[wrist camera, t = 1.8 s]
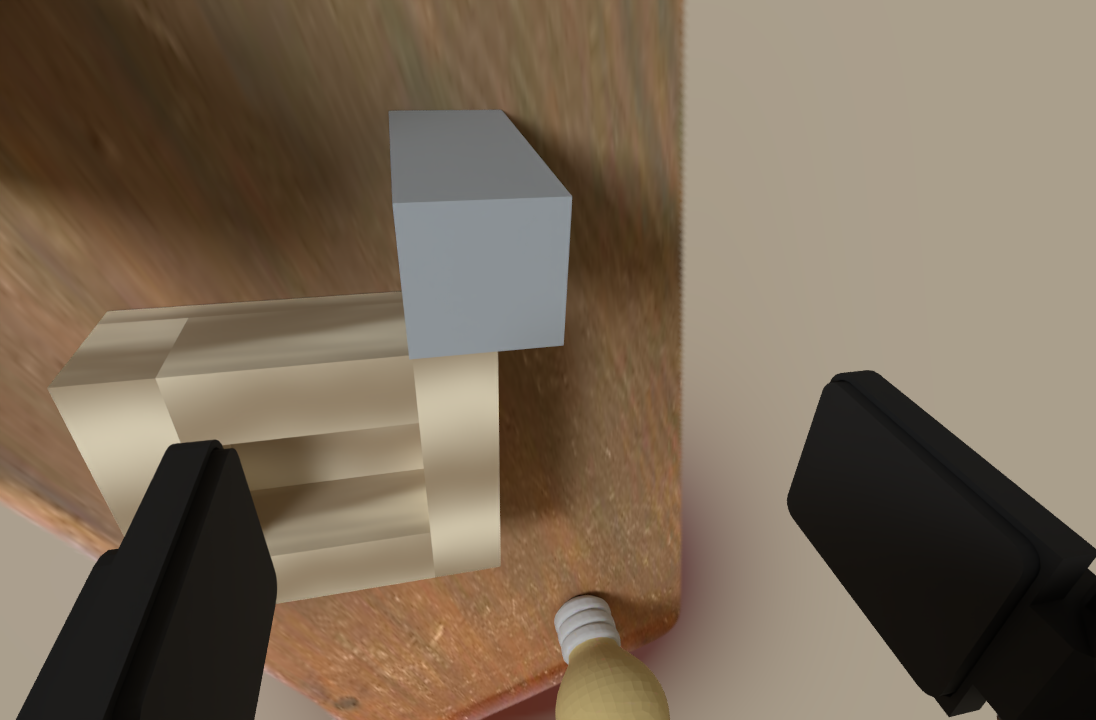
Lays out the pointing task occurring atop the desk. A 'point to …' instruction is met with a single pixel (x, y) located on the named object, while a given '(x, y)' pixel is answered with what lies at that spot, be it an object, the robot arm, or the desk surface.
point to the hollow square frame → (302, 431)
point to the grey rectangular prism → (477, 234)
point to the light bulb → (602, 669)
